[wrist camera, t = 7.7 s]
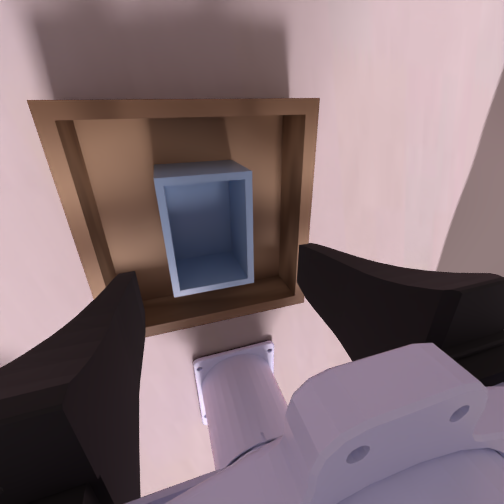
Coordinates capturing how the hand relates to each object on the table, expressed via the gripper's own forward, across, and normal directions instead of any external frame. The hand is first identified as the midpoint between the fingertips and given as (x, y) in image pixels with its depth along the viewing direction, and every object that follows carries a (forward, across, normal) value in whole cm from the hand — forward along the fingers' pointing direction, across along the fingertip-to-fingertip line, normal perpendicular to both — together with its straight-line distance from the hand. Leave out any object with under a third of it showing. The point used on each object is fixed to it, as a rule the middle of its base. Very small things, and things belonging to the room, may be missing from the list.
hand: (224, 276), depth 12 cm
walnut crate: (+9, 0, 0) cm, 9 cm away
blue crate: (+9, 0, 0) cm, 9 cm away
